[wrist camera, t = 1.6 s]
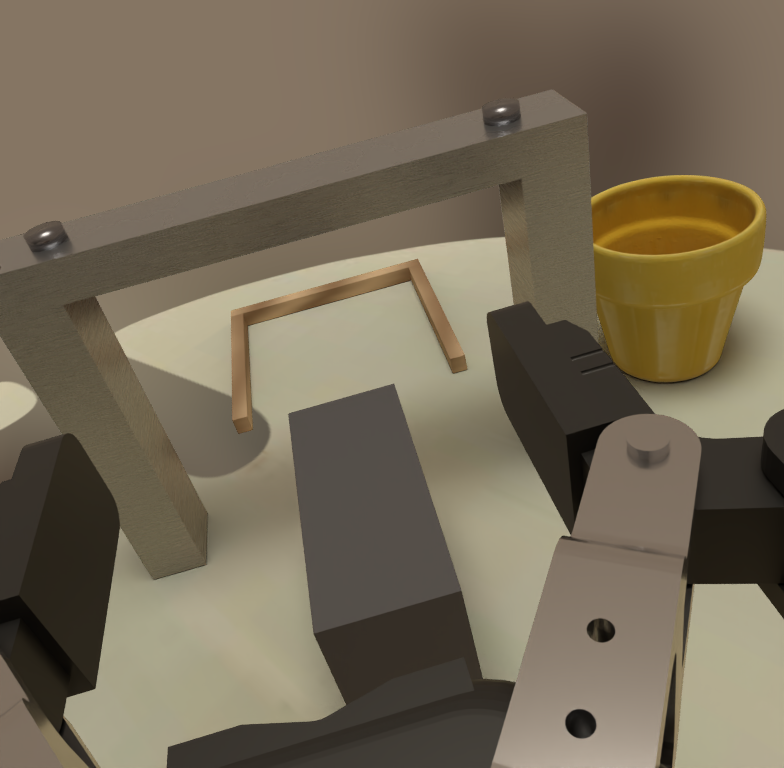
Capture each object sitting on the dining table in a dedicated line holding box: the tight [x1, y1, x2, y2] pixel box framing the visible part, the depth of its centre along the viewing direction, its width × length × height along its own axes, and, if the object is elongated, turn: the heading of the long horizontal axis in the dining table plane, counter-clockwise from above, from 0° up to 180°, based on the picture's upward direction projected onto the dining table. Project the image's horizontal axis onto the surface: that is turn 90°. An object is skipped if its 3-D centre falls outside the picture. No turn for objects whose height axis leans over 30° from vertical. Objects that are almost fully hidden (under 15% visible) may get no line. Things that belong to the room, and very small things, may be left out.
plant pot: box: [591, 175, 766, 382], centre depth 45 cm, size 10×10×10 cm
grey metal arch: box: [0, 90, 598, 580], centre depth 37 cm, size 26×4×20 cm, turn 101°
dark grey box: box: [288, 384, 483, 705], centre depth 32 cm, size 5×13×10 cm, turn 11°
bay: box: [231, 259, 467, 434], centre depth 56 cm, size 16×15×1 cm
